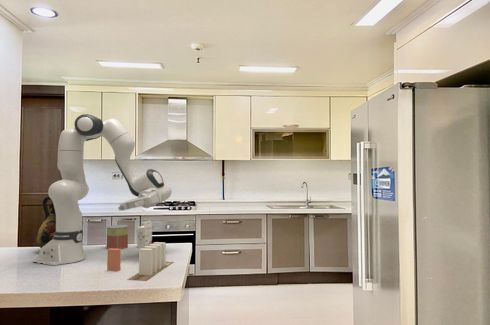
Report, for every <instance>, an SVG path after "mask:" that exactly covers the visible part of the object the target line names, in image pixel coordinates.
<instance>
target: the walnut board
mask: <svg viewBox="0 0 490 325" xmlns="http://www.w3.org/2000/svg"><path fill="white" fill-rule="evenodd" d="M174 263H175V262H174V261H166V266H164V267H161V269H157V272H153V274H152V275H139V272H138V273H136V274H133V275H132V276H131V277H129V278H128V279H127V281H139V282H147V281H149V280H150V279H152V278H153V277H155V276H156V275H157V274H159V273H160V272H162V271H164V270H165V269H167V268H168V267H169V266H171V265H172V264H174Z"/></svg>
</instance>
